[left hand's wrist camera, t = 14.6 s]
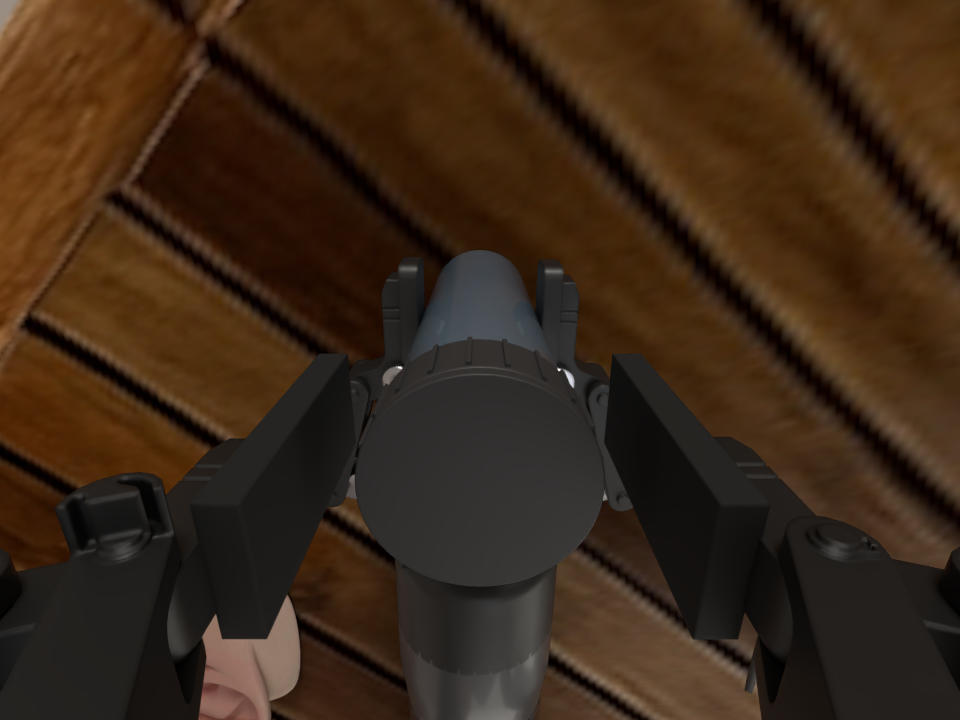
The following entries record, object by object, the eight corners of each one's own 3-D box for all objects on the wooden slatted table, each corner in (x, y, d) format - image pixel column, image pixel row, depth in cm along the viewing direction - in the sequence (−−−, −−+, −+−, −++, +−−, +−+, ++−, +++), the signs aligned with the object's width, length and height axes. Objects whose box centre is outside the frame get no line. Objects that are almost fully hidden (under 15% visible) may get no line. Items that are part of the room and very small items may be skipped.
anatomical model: (72, 578, 27) (291, 613, 28) (122, 528, 30) (313, 560, 31) (86, 743, 31) (274, 768, 32) (128, 682, 35) (295, 706, 36)
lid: (537, 549, 13) (546, 616, 11) (346, 490, 13) (321, 550, 11) (625, 380, 12) (654, 423, 10) (409, 301, 11) (394, 331, 9)
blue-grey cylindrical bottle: (441, 342, 27) (391, 566, 12) (428, 255, 25) (352, 383, 10) (528, 333, 26) (591, 549, 11) (521, 245, 25) (584, 361, 10)
